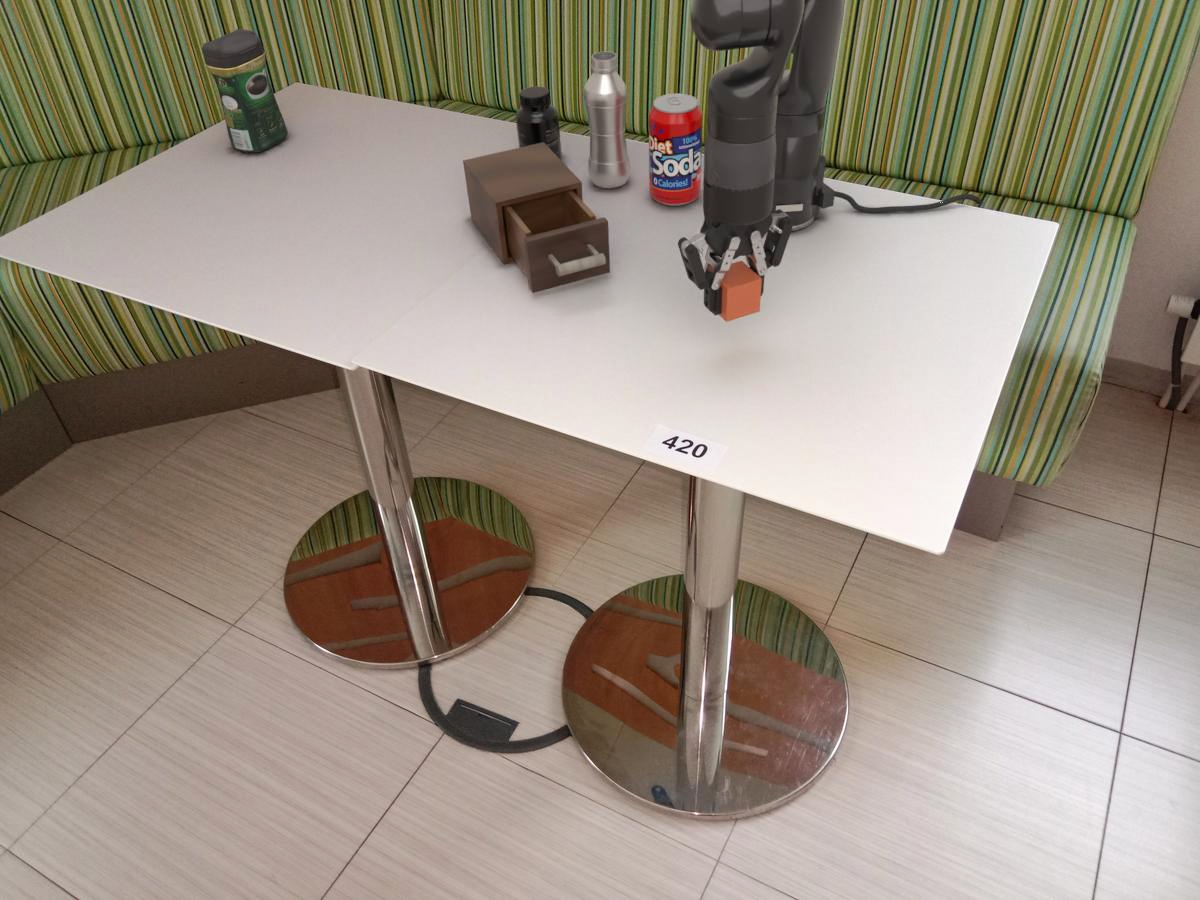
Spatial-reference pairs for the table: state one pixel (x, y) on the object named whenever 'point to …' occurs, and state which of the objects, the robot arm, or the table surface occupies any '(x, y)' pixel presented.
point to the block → (740, 292)
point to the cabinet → (512, 187)
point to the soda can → (675, 149)
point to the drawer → (556, 240)
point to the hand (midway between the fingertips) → (733, 304)
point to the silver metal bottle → (606, 122)
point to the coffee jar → (245, 91)
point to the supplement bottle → (538, 120)
